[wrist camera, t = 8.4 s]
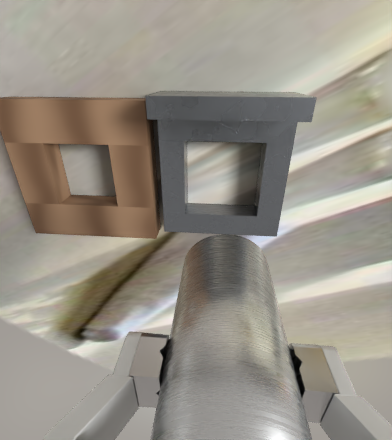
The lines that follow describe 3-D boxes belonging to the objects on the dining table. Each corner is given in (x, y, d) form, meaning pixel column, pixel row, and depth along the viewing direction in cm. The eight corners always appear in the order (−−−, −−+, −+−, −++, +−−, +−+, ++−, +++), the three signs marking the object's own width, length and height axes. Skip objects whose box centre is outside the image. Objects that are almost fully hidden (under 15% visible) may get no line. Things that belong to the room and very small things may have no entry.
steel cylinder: (184, 297, 15) (122, 689, 5) (183, 232, 13) (74, 691, 3) (262, 302, 15) (341, 727, 5) (273, 236, 13) (445, 754, 3)
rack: (168, 220, 31) (157, 250, 25) (161, 91, 24) (145, 95, 19) (272, 224, 30) (283, 256, 25) (294, 92, 23) (316, 97, 18)
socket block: (48, 222, 32) (35, 232, 30) (9, 96, 25) (-11, 98, 23) (160, 227, 31) (156, 238, 29) (151, 98, 24) (144, 100, 22)
